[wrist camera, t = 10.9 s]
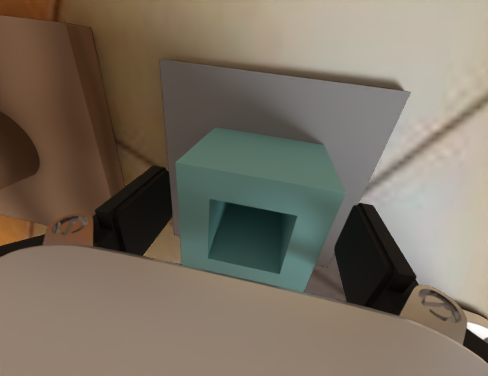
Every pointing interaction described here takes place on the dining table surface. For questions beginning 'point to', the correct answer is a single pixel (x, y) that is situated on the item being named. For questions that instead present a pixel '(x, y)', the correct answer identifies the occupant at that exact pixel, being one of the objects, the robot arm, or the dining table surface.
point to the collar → (256, 206)
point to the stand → (53, 123)
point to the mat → (281, 121)
